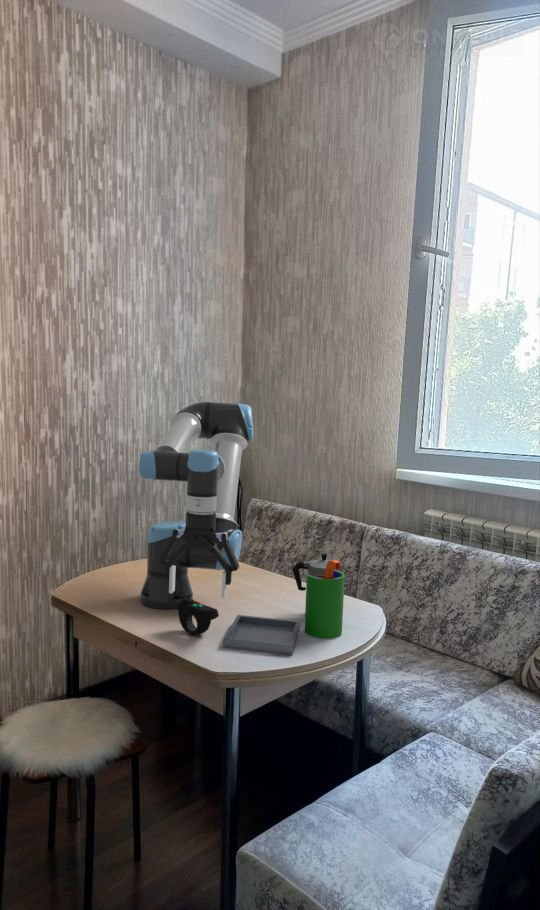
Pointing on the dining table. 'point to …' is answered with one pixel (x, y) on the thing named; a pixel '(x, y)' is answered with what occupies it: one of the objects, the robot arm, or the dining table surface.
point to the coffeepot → (312, 569)
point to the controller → (195, 615)
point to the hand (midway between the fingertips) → (197, 594)
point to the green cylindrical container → (325, 602)
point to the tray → (263, 635)
